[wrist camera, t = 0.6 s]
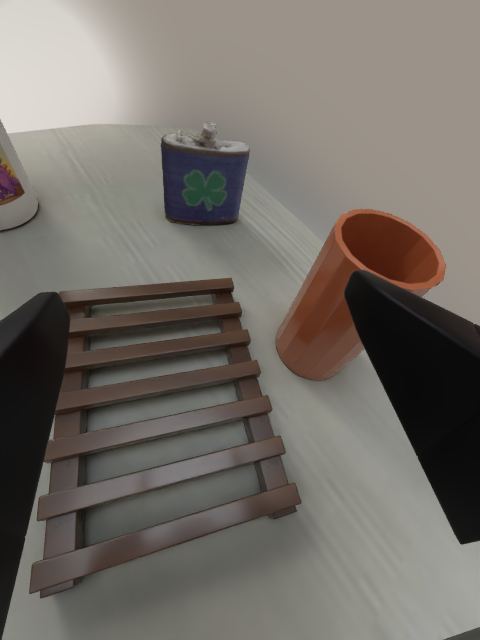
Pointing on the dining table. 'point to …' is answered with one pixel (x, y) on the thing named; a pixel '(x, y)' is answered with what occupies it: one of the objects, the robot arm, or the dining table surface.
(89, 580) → the dining table surface
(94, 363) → the drying rack
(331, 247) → the tumbler
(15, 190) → the milk bottle
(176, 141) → the flask
